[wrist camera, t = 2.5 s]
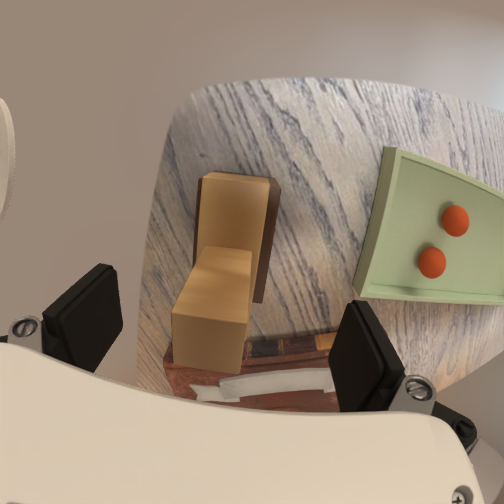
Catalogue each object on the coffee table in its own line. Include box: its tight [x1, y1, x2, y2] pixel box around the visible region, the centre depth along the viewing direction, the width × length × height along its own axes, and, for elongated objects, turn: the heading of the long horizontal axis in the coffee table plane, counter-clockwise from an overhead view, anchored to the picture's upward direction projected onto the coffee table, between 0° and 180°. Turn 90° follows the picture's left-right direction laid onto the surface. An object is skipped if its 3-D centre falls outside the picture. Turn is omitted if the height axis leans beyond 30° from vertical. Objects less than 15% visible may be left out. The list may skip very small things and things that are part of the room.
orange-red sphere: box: [418, 247, 446, 279], centre depth 22 cm, size 3×3×3 cm
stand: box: [192, 171, 281, 303], centre depth 20 cm, size 5×8×6 cm, turn 172°
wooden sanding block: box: [171, 172, 270, 374], centre depth 13 cm, size 3×9×10 cm, turn 173°
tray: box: [352, 147, 504, 305], centre depth 22 cm, size 27×13×2 cm, turn 82°
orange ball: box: [442, 205, 469, 237], centre depth 20 cm, size 3×3×3 cm
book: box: [163, 325, 388, 413], centre depth 28 cm, size 23×16×5 cm
